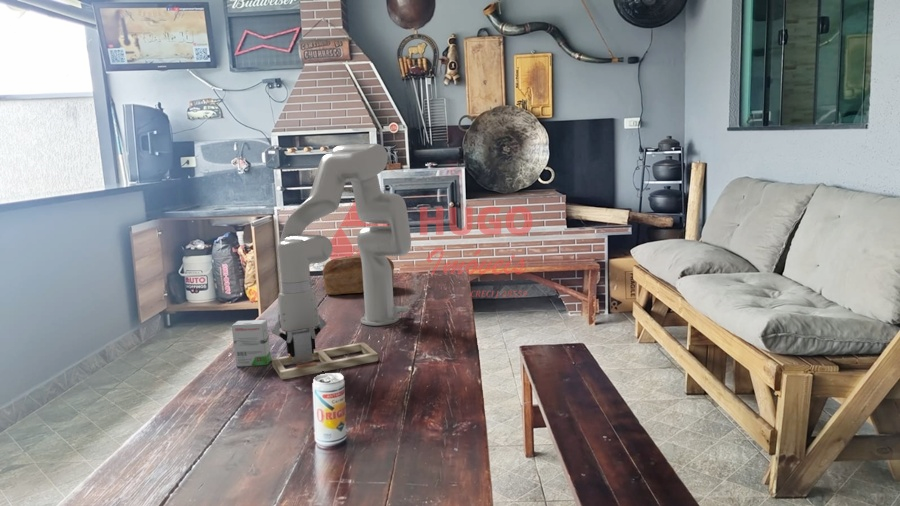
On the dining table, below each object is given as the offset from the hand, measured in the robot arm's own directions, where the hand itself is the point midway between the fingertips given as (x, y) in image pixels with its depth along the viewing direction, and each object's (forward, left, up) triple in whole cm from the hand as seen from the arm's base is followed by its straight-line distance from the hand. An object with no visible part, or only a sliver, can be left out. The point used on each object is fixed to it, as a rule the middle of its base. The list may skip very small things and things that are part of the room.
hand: (301, 353), depth 171 cm
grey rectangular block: (0, 0, -2) cm, 2 cm away
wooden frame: (-6, 0, -4) cm, 7 cm away
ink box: (+11, -11, -4) cm, 16 cm away
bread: (-41, -76, -4) cm, 86 cm away
